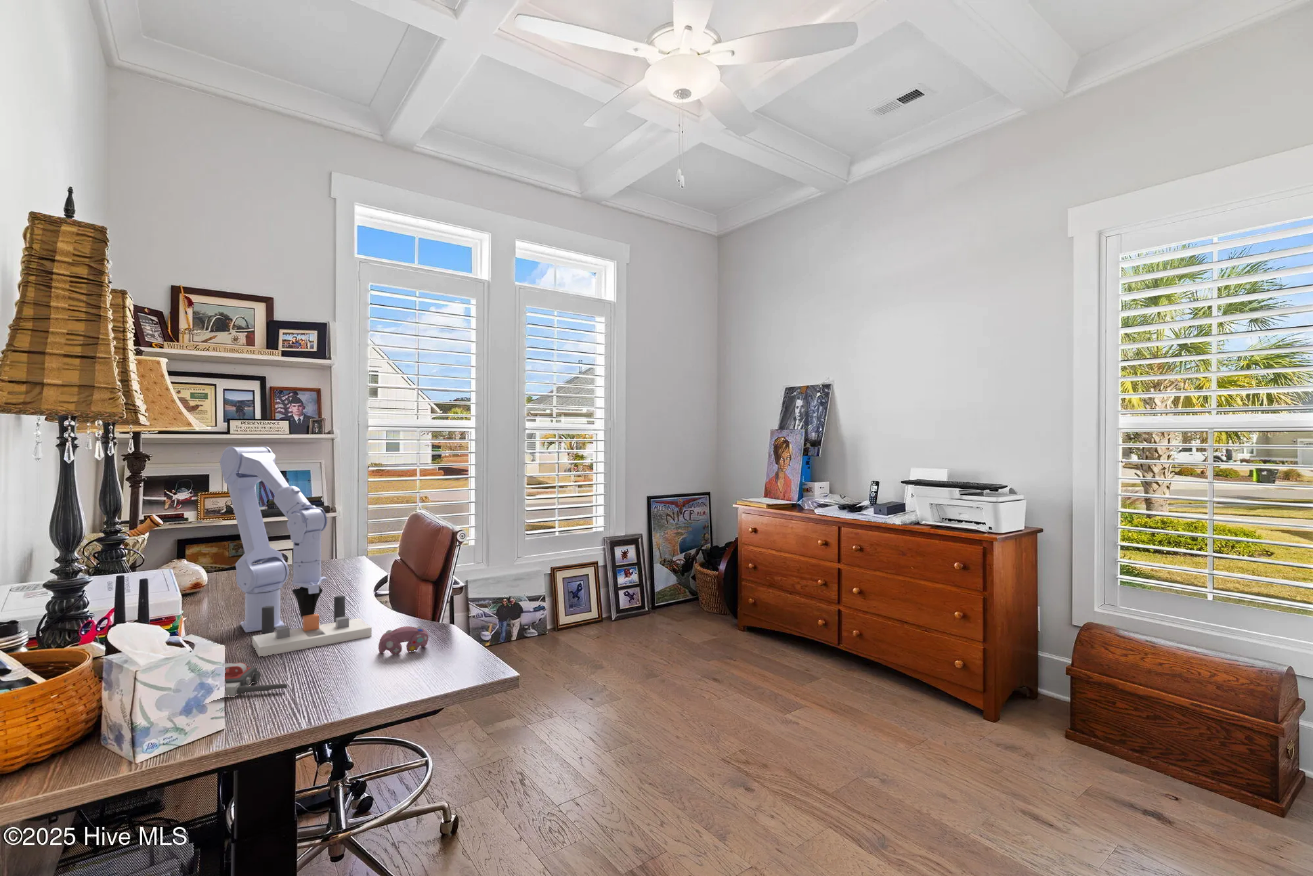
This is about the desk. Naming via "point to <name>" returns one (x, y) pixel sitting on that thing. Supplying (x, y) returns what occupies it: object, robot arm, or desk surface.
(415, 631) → the video game controller
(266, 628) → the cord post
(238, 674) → the toy chainsaw
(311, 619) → the slide switch
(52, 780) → the desk surface
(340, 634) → the off-white rectangular base
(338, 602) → the post
